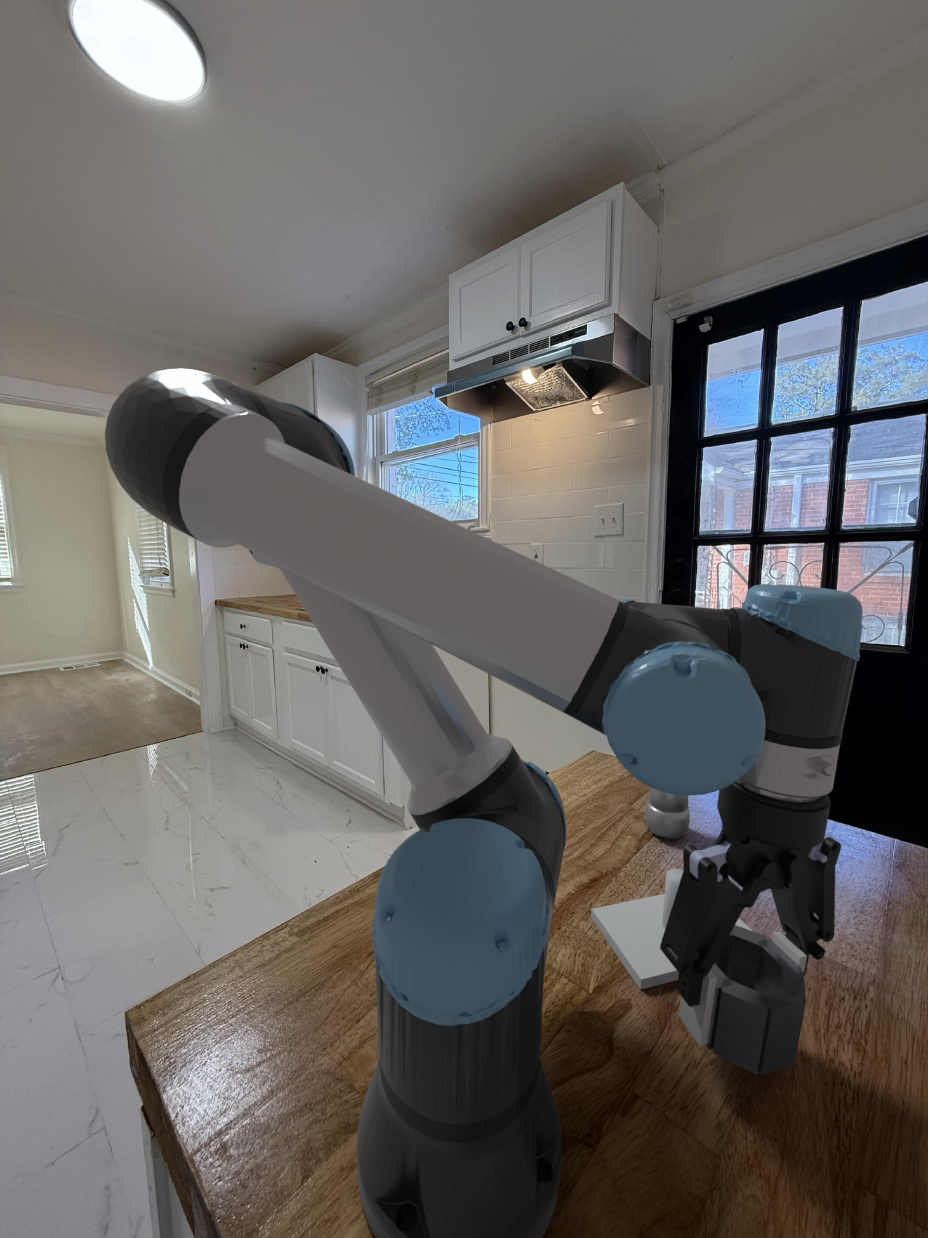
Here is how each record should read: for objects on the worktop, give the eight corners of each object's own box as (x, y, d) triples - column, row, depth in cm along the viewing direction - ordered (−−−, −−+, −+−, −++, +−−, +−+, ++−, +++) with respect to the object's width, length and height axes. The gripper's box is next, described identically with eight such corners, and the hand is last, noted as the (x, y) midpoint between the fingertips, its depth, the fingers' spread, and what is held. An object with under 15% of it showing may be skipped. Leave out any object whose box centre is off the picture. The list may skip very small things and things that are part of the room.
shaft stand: (640, 989, 51) (645, 924, 50) (591, 917, 61) (594, 861, 59) (768, 956, 55) (775, 895, 54) (703, 894, 65) (708, 840, 64)
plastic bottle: (638, 835, 77) (646, 710, 74) (650, 815, 83) (658, 698, 79) (683, 850, 74) (694, 720, 70) (692, 828, 79) (703, 706, 76)
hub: (733, 1084, 39) (743, 1019, 38) (664, 988, 47) (671, 932, 46) (819, 1057, 42) (830, 995, 40) (739, 971, 50) (747, 917, 49)
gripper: (694, 821, 34) (658, 1095, 38) (924, 790, 40) (871, 1031, 44) (630, 769, 41) (606, 1004, 45) (833, 749, 47) (795, 960, 51)
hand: (736, 1017), depth 44 cm, fingers closed on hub, 8 cm apart
